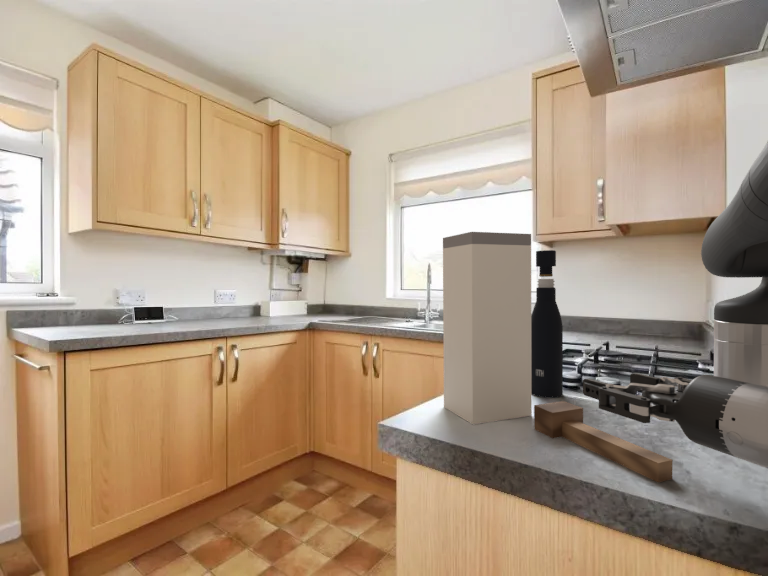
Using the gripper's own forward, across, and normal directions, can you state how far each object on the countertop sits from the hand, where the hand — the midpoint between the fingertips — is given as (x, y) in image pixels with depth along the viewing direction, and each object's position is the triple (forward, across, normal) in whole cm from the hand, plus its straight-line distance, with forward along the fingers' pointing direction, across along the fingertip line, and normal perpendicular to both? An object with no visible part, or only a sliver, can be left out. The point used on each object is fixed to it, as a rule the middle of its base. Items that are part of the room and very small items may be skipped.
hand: (608, 383), depth 55 cm
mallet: (+1, 0, +10) cm, 10 cm away
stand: (+22, +5, +10) cm, 24 cm away
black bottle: (+27, -13, +10) cm, 32 cm away
